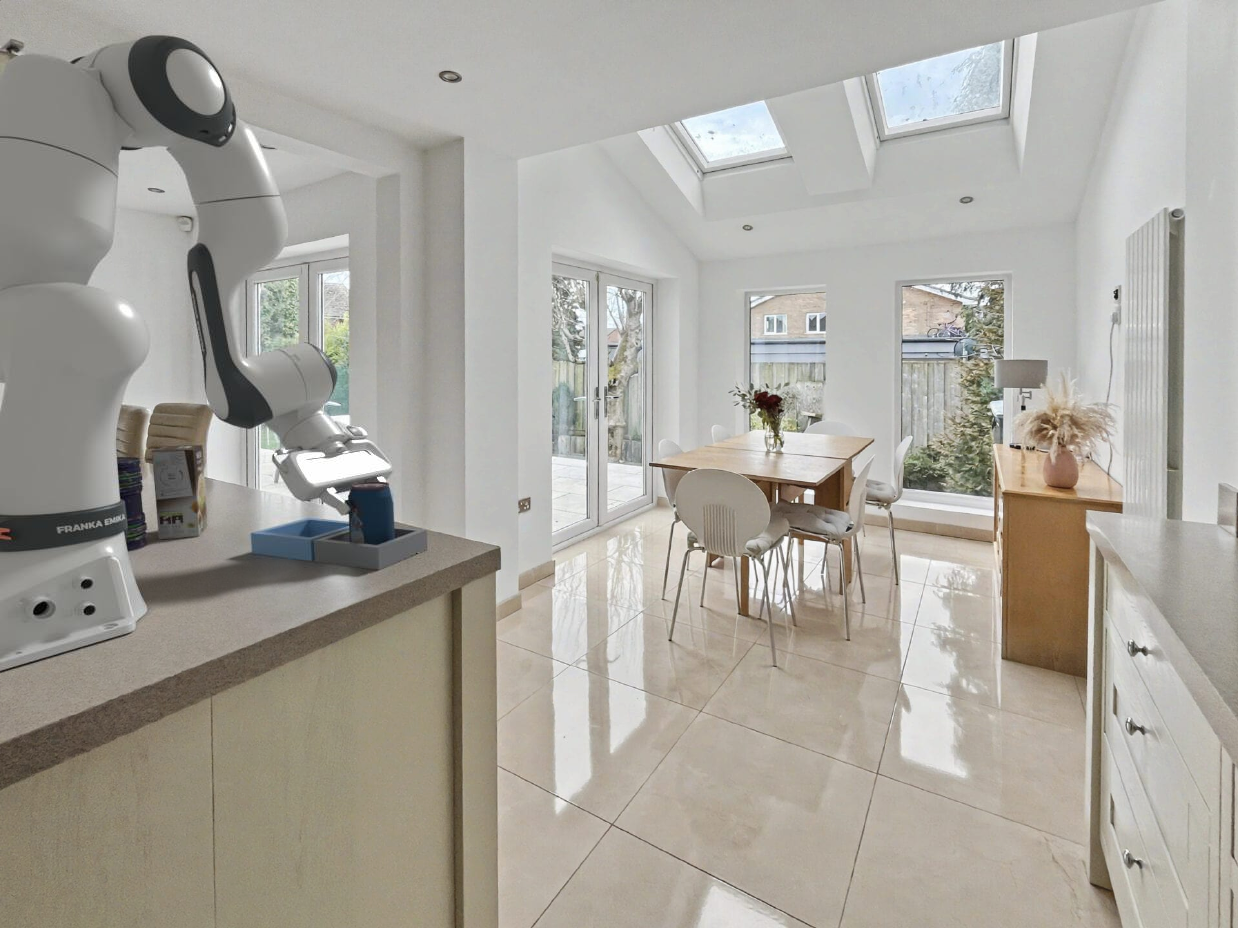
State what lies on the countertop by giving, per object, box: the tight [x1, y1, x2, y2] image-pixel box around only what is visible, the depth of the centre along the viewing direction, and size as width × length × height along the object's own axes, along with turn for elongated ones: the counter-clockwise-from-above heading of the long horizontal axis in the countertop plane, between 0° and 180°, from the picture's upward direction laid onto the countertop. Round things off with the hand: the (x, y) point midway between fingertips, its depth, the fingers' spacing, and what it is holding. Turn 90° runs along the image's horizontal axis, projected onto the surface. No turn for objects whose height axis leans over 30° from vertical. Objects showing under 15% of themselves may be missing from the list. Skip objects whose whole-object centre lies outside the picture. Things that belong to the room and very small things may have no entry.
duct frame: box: [250, 517, 428, 571], centre depth 106 cm, size 12×25×4 cm, turn 72°
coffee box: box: [151, 444, 209, 540], centre depth 116 cm, size 9×6×16 cm
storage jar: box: [117, 456, 148, 553], centre depth 105 cm, size 10×10×15 cm
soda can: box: [347, 481, 395, 545], centre depth 103 cm, size 7×7×12 cm
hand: (369, 506), depth 103 cm, fingers open, 8 cm apart
